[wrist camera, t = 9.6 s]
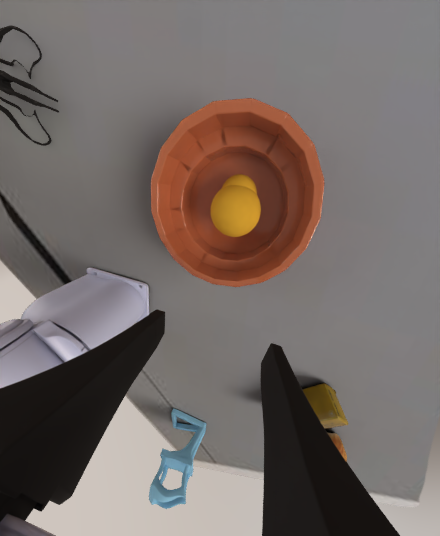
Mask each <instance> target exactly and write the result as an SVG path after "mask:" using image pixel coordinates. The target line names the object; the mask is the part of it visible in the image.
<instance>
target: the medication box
mask: <svg viewBox="0 0 440 536" xmlns="http://www.w3.org/2000/svg"><path fill="white" fill-rule="evenodd" d="M302 390H303V392H304V394H305V396H306V398H307V399H308V401H309V403H310V405H311V406H312V408H313V410H314V412H315V413H316V415H317V417H318V419H319V420H320V422H321V424H322V425H323V427H324V428H331V427H337V426H344V425H348V421H347V419H346V417H345V415H344V412H343V410H342V408H341V405H340V403H339V401H338V399H337V396H336V394H335V393H336V392H335V390H334V389H332V388H331V387H330V386H328V385H327V384H325V383H323V384H320V385H316V386H313V387H309V388H306V389H302Z"/></svg>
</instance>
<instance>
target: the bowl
mask: <svg viewBox="0 0 440 536" xmlns="http://www.w3.org/2000/svg"><path fill="white" fill-rule="evenodd" d="M237 174H243V175H246V176H248V177H249V178H251V179H252V180H253V182H254V183H255V186H256V190H257V196H258V198H259V201H260V205H261V214H260V218H259V221H258V223H257V224H256V226H255V227H254V228H253V229H252V230H251V231H250V232H249V233H247V234H245V235H243V236H239V237H230V236H227V235H224V234H223V233H221V232H220V231H219V230H218V229H217V228H216V227H215V225H214V224H213V221H212V218H211V204H212V201H213V199H214V197H215V195H216V194H217V193H218V191H219V190H221V189H222V187H223V185H224V183H225V181H226V180H227V179H228V178H230V177H231V176H233V175H237ZM151 180H152V181H151V210H152V215H153V218H154V221H155V225H156V228H157V231H158V234H159V237H160V239H161V240H162V242H163V243H164V245H165V247H166V248H167V250H168V251H169V253H170V254H171V256H172V257H173V258H174V260H175V261H177V262H178V263H179V264H180V265H181V266H182V267H184V268H185V269H186V270H187V271H188V272H189V273H191V274H192V275H194V276H196V277H198V278H201V279H203V280H205V281H207V282H210V283H212V284H216V285H225V286H233V287H240V286H246V285H251V284H257V283H261V282H264V281H266V280H268V279H270V278H272V277H273V276H275V275H277V274H279V273H281V272H283V271H285V269H287V268H288V267H289V266H290V265H291V264H292V263H293V262H294V261H295V260H296V259H297V258H298V257H299V256H300V254H301V253H302V252H303V251H304V250H305V249H306V248H307V246H308V244H309V242H310V240H311V238H312V236H313V233H314V231H315V229H316V227H317V225H318V223H319V221H320V218H321V211H322V201H323V192H324V178H323V174H322V170H321V167H320V163H319V160H318V156H317V153H316V149H315V146H314V144H313V142H312V141H311V140H310V139H309V137H308V136H307V135H306V134H305V133H304V131H303V130H302V129H301V128H300V127H299V125H298V124H297V123H296V122H295V121H294V119H293V118H292V117H291V116H290V115H289V114H288V113H286V112H284V111H282V110H279V109H277V108H275V107H272V106H270V105H268V104H265V103H263V102H261V101H258V100H256V99H252V98H246V99H234V100H222V101H215V102H214V101H213V102H211V103H210V104H208V105H206V106H205V107H203V108H201V109H200V110H198V111H196V112H195V113H193V114H191V115H189V116H188V117H186V118H184V119H183V120H182V121H181V122H180V123H179V125H178V126H177V127H176V129H175V130H174V131H173V133H172V134H171V135H170V137H169V138H168V139H167V141H166V142H165V143H164V145H163V146H162V147H161V150H160V153H159V156H158V159H157V162H156V166H155V169H154V172H153V175H152V179H151Z"/></svg>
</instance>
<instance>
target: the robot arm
mask: <svg viewBox="0 0 440 536" xmlns="http://www.w3.org/2000/svg"><path fill="white" fill-rule="evenodd" d="M135 322H137V323H136V324H134V323H135ZM133 324H134V325H133ZM164 330H165V312H163V311H160V310H155V311H153V312H152V313H150V314H149V287H148V285H147V284H146V283H143V282H139V281H136V280H133V279H129V278H126V277H122V276H119V275H115V274H112V273H108V272H105V271H101V270H98V269H95V268H91V267H90V268H88V269H87V275H85V276H83V277H81V278H78V279H76V280H74V281H72V282H70V283H68V284H66V285H64V286H62V287H59V288H57V289H55V290H53V291H51V292H49V293H47V294H45V295H43V296H41V297H39V298H38V299H36V300H35V301H34V302H33V303H32V304H31V305H29V306H28V307H27V309H26V310H25V311H24V312H23V314H22V316H21V319H13V320H9V321H6V322H4V323H1V324H0V536H55V535H53V534H51V533H49V532H47V531H45V530H43V529H41V528H38V527H37V526H35V525H32V524H30V523H28V522H26V521H25V520H26V518H27V517H28V516H29V514H30V513H31V511H32V510H33V509H37V510H39V511H42V510H43V509H44V508H45V506H46V505H47V503H48V502H49V500H50V501H52V502H54V503H56V504H59V505H60V504H62V503H63V502H64V501H66V500H67V499H69V498H70V497H71V496H72V494H73V492H74V490H75V488H76V486H77V484H78V482H79V480H80V479H81V477H82V475H83V473H84V471H85V469H86V467H87V465H88V463H89V461H90V459H91V457H92V455H93V453H94V451H95V449H96V447H97V446H98V444H99V442H100V440H101V438H102V436H103V434H104V432H105V430H106V429H107V427H108V425H109V423H110V421H111V420H112V418H113V416H114V414H115V412H116V411H117V409H118V407H119V405H120V403H121V402H122V400H123V398H124V397H125V395H126V393H127V391H128V390H129V388H130V386H131V385H132V383H133V382H134V380H135V379H136V377H137V376H138V374H139V373H140V371H141V370H142V368H143V367H144V366H145V364H146V363H147V361H148V360H149V358H150V357H151V355H152V354H153V352H154V351H155V349H156V348H157V346H158V344H159V342H160V340H161V338H162V337H163V335H164ZM261 394H262V408H263V422H264V500H263V529H262V536H400V535H399V534H398V532H397V531H396V530H395V528H394V527H393V526H392V524H391V523H390V522H389V520H388V519H387V518H386V516H385V515H384V514H383V512H382V511H381V510H380V509H379V507H378V506H377V504H376V503H375V502H374V500H373V499H372V498H371V496H370V495H369V493H368V492H367V491H366V489H365V488H364V486H363V485H362V484H361V482H360V481H359V479H358V478H357V476H356V475H355V474H354V472H353V471H352V469H351V468H350V466H349V465H348V463H347V462H346V461H345V459H344V458H343V456H342V455H341V453H340V452H339V450H338V449H337V447H336V446H335V444H334V443H333V441H332V440H331V438H330V436H329V435H328V433H327V432H326V430H325V428H324V427H323V425H322V424H321V422H320V420H319V419H318V417H317V415H316V413H315V412H314V410H313V408H312V406H311V405H310V403H309V401H308V399H307V398H306V396H305V394H304V392H303V390H302V388H301V386H300V384H299V382H298V381H297V379H296V377H295V375H294V373H293V371H292V368H291V366H290V364H289V362H288V360H287V358H286V356H285V354H284V352H283V349H282V347H281V346H279V345H276V344H272V343H271V344H270V346H269V348H268V350H267V352H266V354H265V356H264V358H263V360H262V362H261Z"/></svg>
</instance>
